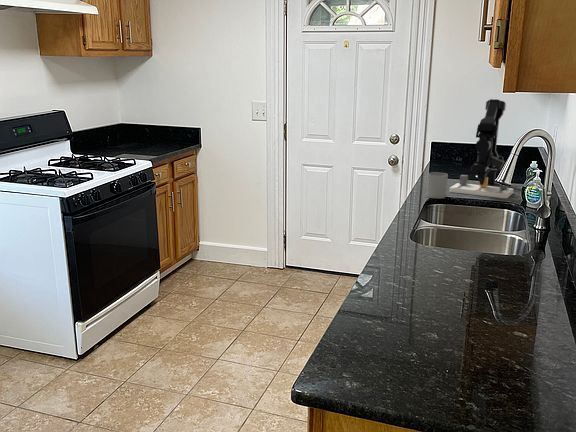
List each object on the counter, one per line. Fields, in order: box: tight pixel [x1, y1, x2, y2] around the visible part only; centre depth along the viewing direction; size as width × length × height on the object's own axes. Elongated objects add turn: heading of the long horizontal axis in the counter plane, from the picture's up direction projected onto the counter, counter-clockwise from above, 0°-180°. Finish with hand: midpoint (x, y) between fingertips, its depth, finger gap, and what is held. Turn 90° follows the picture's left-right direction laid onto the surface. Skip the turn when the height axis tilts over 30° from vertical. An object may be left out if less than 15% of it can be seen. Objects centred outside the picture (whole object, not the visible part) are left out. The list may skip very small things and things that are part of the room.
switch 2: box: [499, 184, 509, 189], centre depth 247 cm, size 3×3×4 cm
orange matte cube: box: [478, 177, 489, 187], centre depth 252 cm, size 3×3×4 cm
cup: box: [426, 171, 449, 199], centre depth 242 cm, size 8×8×10 cm
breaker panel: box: [448, 182, 514, 199], centre depth 251 cm, size 13×25×2 cm, turn 57°
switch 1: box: [458, 174, 469, 185], centre depth 257 cm, size 3×3×4 cm
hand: (481, 184), depth 250 cm, fingers closed
